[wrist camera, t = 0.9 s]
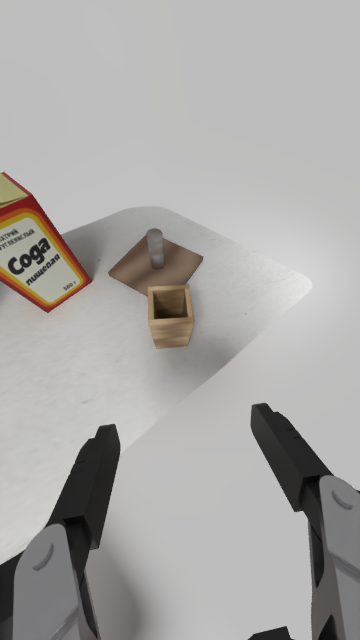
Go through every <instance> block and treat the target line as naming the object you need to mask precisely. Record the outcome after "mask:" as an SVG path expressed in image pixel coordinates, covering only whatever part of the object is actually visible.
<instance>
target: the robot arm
mask: <svg viewBox="0 0 360 640" xmlns="http://www.w3.org/2000/svg"><path fill="white" fill-rule="evenodd" d="M251 429H252V432H253V435H254V437H255V439H256V440H257V443H258V444H259V446H260V448H261V450H262V452H263V454H264V456H265V458H266V459H267V461H268V463H269V465H270V467H271V469H272V470H273V472H274V474H275V476H276V478H277V480H278V482H279V484H280V486H281V488H282V489H283V491H284V493H285V495H286V497H287V499H288V501H289V503H290V504H291V506H292V508H293V510H294V512H299V511H304V513H305V515H306V516H307V518H308V532H309V546H310V562H311V577H312V603H311V605H312V606H311V626H312V627H311V628H312V640H360V491H358V490H355V489H354V488H353V487H352V486H351V485H349V484H348V483H347V482H345V481H344V480H342V479H340V478H338V477H335V476H334V475H333V474H332V473H331V472H330V471H329V470H328V468H327V467H326V466H325V465H324V464H323V462H322V461H321V460H320V459H319V457H318V456H317V455H316V454H315V452H314V451H313V450H312V449H311V447H310V446H309V445H308V444H307V442H306V441H305V440H304V439H303V438H302V437H301V435H300V434H299V433H298V431H297V430H295V428H294V427H293V425H292V424H291V423H290V421H289V420H288V419H287V418H286V417H284V416H283V415H282V414H280V413H279V412H273V411H272V410H271V408H270V407H269V406H268V404H266V403H261V404H254V405H252V410H251ZM119 456H120V441H119V437H118V433H117V429H116V426H115V424H110V425H103V426H100V427H99V428H98V431H97V433H96V436H95V438H92V439H88V441H87V442H86V443H85V444H84V446H83V447H82V448H81V450H80V452H79V454H78V456H77V458H76V461H75V464H74V465H73V467H72V470H71V472H70V475H69V476H68V479H67V481H66V483H65V485H64V487H63V490H62V492H61V494H60V496H59V499H58V501H57V503H56V505H55V508H54V510H53V512H52V514H51V517H50V519H49V521H48V523H47V524H46V526H45V528H44V529H43V530H42V531H41V532H40V533H38V534H37V535H36V536H35V537H34V539H33V540H32V541H31V542H30V543H29V545H28V546H27V548H26V549H25V550H24V551H22V552H21V553H20V554H18V555H16V556H15V557H13V558H11V559H10V560H8V561H6V562H4V563H3V564H1V565H0V640H101V636H100V632H99V627H98V623H97V618H96V614H95V609H94V605H93V600H92V596H91V591H90V587H89V582H88V578H87V573H86V569H85V566H86V562H87V558H88V554H89V550H93V549H98V548H99V545H100V540H101V536H102V531H103V527H104V522H105V518H106V514H107V509H108V505H109V500H110V496H111V492H112V487H113V483H114V478H115V474H116V470H117V465H118V461H119ZM248 640H294V639H291V638H290V635H289V632H288V629H287V626H285V627H281V628H277V629H273V630H269V631H264V632H260V633H256V634H253V636H251V637H250V638H249V639H248Z"/></svg>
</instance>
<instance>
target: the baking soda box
mask: <svg viewBox="0 0 360 640" xmlns="http://www.w3.org/2000/svg"><path fill="white" fill-rule="evenodd" d="M0 281H1V282H3V283H4V284H6V285H7V286H9V287H10V288H12V289H13V290H15V291H16V292H18V293H19V294H20V295H22V296H23V297H25V298H26V299H28V300H29V301H31V302H32V303H34V304H35V305H37V306H38V307H40V308H41V309H42V310H44V311H45V312H47V313H49V312H50V311H51V310H53V309H54V308H56V307H57V306H59V305H60V304H61V303H63V302H64V301H66V300H67V299H68V298H70V297H71V296H73V295H74V294H75V293H77V292H78V291H80V290H81V289H82V288H84V287H85V286H87V285H88V284H90V283H91V282H92V280H91V279H90V278H89V276H88V275H87V273H86V272H85V270H84V269H83V267H82V266H81V264H80V263H79V262H78V260H77V259H76V257H75V256H74V254H73V253H72V251H71V250H70V248H69V247H68V246H67V244H66V243H65V241H64V240H63V238H62V237H61V235H60V234H59V232H58V231H57V230H56V228H55V227H54V225H53V224H52V222H51V221H50V219H49V218H48V217H47V215H46V214H45V212H44V211H43V209H42V208H41V206H40V205H39V204H38V202H37V200H36V199H35V198H34V196H33V195H32V194H31V193H30V192H29V191H27V190H26V189H25V188H24V187H22V186H21V185H20V184H18V183H17V182H16V181H15V180H13V179H12V178H10V177H9V176H8V175H7V174H6V173H4V172H3V173H0Z"/></svg>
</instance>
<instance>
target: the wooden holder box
mask: <svg viewBox="0 0 360 640" xmlns="http://www.w3.org/2000/svg"><path fill="white" fill-rule="evenodd" d="M148 318H149V327H150V331H151V334H152V337H153V340H154V343H155V346H156V349H157V348H169V347H182V346H187V345H188V342H189V338H190V335H191V331H192V328H193V324H194V316H193V309H192V302H191V295H190V288H189V285H173V286H154V287H148Z"/></svg>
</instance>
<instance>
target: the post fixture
mask: <svg viewBox="0 0 360 640" xmlns="http://www.w3.org/2000/svg"><path fill="white" fill-rule="evenodd" d="M202 261H203V256H201V255H198V254H196V253H194V252H192V251H190V250H188V249H185V248H183V247H181V246H179V245H177V244H174V243H172V242H170V241H168V240H166V239H164V238H162V232H161V231H160V230H159V229H150V230H149V231H148V232H147V235H146V236H145V237H144V238H143V239H142V240H140V241H139V242H138V243H137V244H136V245H135V246H134V247H133V248H132V249H131V250H130V251H129V252H128V253H127V254H126V255H125V256H124V257H123V258H122V259H121V260H120V261H119V262H118V263H117V264H116V265H115V266H114V267H113V268H112V269H111V270H110V271H109V272H108V273H109V275H110V276H111V277H113V278H115V279H117V280H119V281H120V282H122V283H124V284H126V285H128V286H129V287H131V288H133V289H135V290H137V291H139V292H140V293H142V294H144V295H146V296H148V287H154V286H173V285H185V284H186V283H187V281H188V280H189V279H190V277H191V276H192V274H193V273H194V272H195V270H196V269H197V267H198V266H199V265H200V263H201V262H202Z"/></svg>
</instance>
